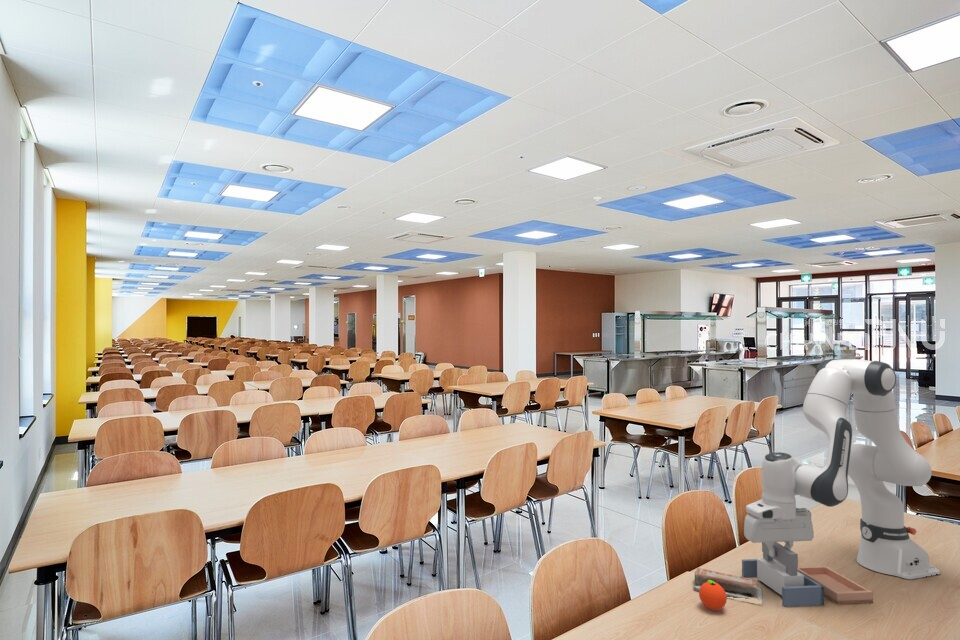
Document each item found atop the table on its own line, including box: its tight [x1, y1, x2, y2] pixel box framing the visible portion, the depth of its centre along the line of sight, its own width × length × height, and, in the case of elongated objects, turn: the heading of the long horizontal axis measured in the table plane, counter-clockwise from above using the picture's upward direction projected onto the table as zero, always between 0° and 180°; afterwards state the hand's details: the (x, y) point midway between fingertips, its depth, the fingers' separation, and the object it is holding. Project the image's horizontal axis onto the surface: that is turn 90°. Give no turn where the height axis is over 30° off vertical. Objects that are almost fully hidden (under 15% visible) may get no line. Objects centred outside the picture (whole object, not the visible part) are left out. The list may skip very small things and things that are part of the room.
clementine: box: [698, 580, 728, 611], centre depth 141 cm, size 8×7×7 cm
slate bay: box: [741, 558, 825, 608], centre depth 152 cm, size 12×19×5 cm, turn 6°
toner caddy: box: [756, 542, 804, 597], centre depth 152 cm, size 6×12×12 cm, turn 7°
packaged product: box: [692, 567, 763, 602], centre depth 151 cm, size 18×5×10 cm
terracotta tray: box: [797, 565, 874, 606], centre depth 153 cm, size 11×17×3 cm, turn 6°
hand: (779, 555), depth 152 cm, fingers closed on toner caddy, 2 cm apart
